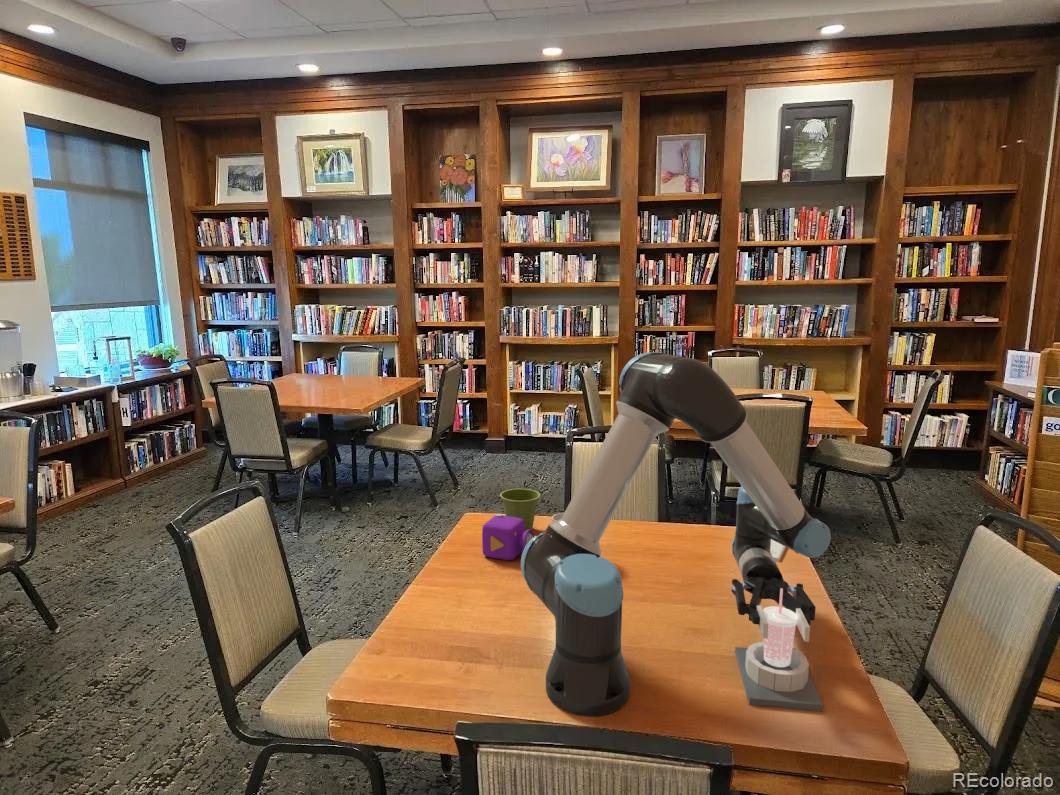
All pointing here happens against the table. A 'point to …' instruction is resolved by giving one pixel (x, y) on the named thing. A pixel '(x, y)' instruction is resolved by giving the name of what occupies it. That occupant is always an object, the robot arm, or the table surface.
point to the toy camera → (504, 537)
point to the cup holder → (777, 680)
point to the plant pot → (521, 504)
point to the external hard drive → (776, 550)
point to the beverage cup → (779, 634)
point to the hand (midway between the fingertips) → (786, 632)
